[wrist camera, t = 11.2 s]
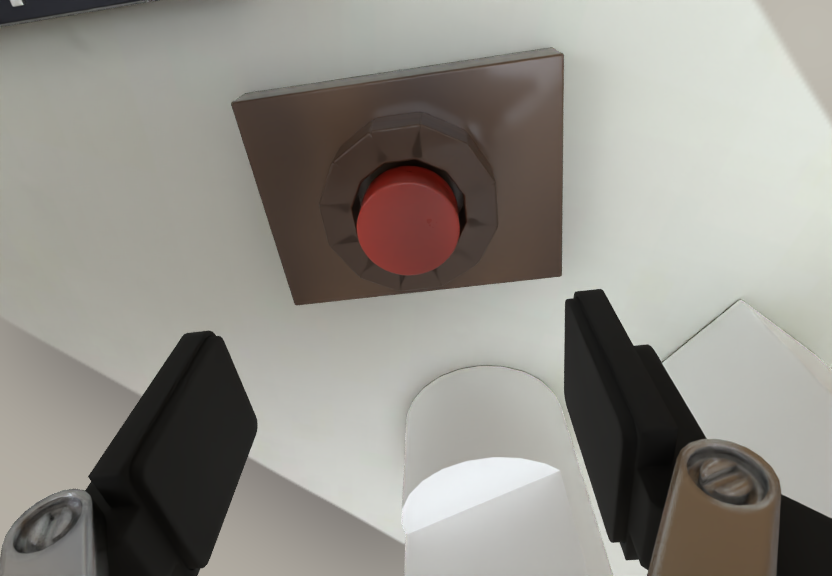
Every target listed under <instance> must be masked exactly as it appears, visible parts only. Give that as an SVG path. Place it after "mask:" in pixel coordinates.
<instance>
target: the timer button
mask: <svg viewBox="0 0 832 576" xmlns="http://www.w3.org/2000/svg"><path fill="white" fill-rule="evenodd" d="M459 234H460V223H459V215H458V207H457V201H456V198H455V195H454V193H453V191H452V189H451V188H450V186H449V185H448V183H447V182H446V181H445V180H444V179H443V178H442V177H440V176H439V175H438V174H436V173H435V172H433V171H431V170H429V169H426V168H423V167H418V166H400V167H395V168H392V169H389V170H387V171H385V172H383V173H382V174H380V175H379V176H378V177H376V178H375V179H374V180H373V181H372V183H371V184H370V185H369V187H368V188H367V190H366V192H365V194H364V197H363V201H362V204H361V208H360V211H359V215H358V218H357V236H358V240H359V243H360V245H361V247H362V249H363V251H364V252H365V254H366V255H367V256H368V257H369V259H370V260H371V261H373V262H374V263H375V264H376V265H378V266H379V267H381V268H382V269H384V270H386V271H389V272H391V273H395V274H400V275H418V274H423V273H427V272H429V271H432V270H434V269H435V268H437V267H439V266H440V265H442V264H443V263H444V262H445V261H446V260H447V259H448V258H449V257H450V256H451V254H452V253H453V251H454V250H455V248H456V245H457V243H458V239H459Z"/></svg>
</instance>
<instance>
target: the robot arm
mask: <svg viewBox="0 0 832 576" xmlns="http://www.w3.org/2000/svg"><path fill="white" fill-rule="evenodd" d="M564 395H565V401H566V406H567V409H568V412H569V415H570V418H571V422H572V425H573V428H574V431H575V434H576V437H577V440H578V444H579V447H580V450H581V453H582V456H583V459H584V462H585V466H586V469H587V472H588V475H589V478H590V481H591V485H592V488H593V491H594V494H595V497H596V500H597V503H598V507H599V510H600V513H601V516H602V519H603V522H604V525H605V529H606V532H607V535H608V537H609V540H610V541H611V542H612V543H614V542H620V544H621V547H622V550H623V553H624V556H625V559H626V560H638V559H639V561H640V564H641V566H643V567H644V568H645V569H647V570H648V574H647V576H832V518H830V517H828V516H826V515H824V514H822V513H820V512H817V511H815V510H813V509H811V508H809V507H807V506H805V505H803V504H801V503H799V502H797V501H795V500H793V499H791V498H789V497H787V496H784V495H782V494H781V487H780V481H779V478H778V476H777V475H776V473H775V471H774V470H773V468H772V467H771V466H770V465H769V464H768V463H767V462H766V461H765V460H764V459H763V458H762V457H761V456H759V455H758V454H756V453H755V452H753V451H751V450H750V449H748V448H747V447H744V446H741V445H739V444H736V443H734V442H731V441H726V440H720V439H707V438H706V436H705V435H704V433H703V431H702V430H701V428H700V426H699V425H698V423H697V421H696V420H695V418H694V416H693V415H692V413H691V411H690V409H689V408H688V406H687V404H686V403H685V401H684V399H683V398H682V396H681V394H680V393H679V391H678V389H677V388H676V386H675V384H674V383H673V381H672V379H671V378H670V376H669V374H668V373H667V371H666V369H665V367H664V366H663V364H662V362H661V361H660V359H659V357H658V356H657V354H656V352H655V351H654V350H653V348H652V347H651V346H649V345H638V346H633V344H632V342H631V340H630V339H629V337H628V335H627V333H626V331H625V329H624V328H623V326H622V324H621V322H620V320H619V319H618V317H617V315H616V313H615V311H614V309H613V308H612V306H611V304H610V302H609V300H608V298H607V297H606V295H605V293H604V291H603V290H602V289H596V290H587V291H578V292H575V293H574V299H566V302H565V357H564ZM256 432H257V418H256V415H255V413H254V411H253V408H252V406H251V404H250V401H249V399H248V396H247V394H246V392H245V389H244V387H243V385H242V382H241V380H240V378H239V375H238V373H237V371H236V368H235V366H234V363H233V361H232V359H231V356H230V354H229V352H228V349H227V347H226V345H225V342H224V340H223V338H222V337H220V336H216V335H215V334H214V333H213V332H212V331H202V332H193V333H186V334H184V335H183V336H182V338H181V339H180V341H179V342H178V344H177V345H176V347H175V348H174V350H173V351H172V353H171V354H170V356H169V357H168V359H167V360H166V362H165V363H164V364H163V366H162V367H161V369H160V370H159V372H158V373H157V375H156V376H155V378H154V379H153V381H152V382H151V384H150V385H149V387H148V388H147V390H146V391H145V393H144V394H143V396H142V397H141V399H140V400H139V402H138V403H137V405H136V406H135V408H134V409H133V411H132V412H131V414H130V415H129V417H128V418H127V420H126V421H125V423H124V424H123V426H122V427H121V428H120V430H119V432H118V433H117V435H116V436H115V437H114V439H113V440H112V442H111V443H110V445H109V446H108V448H107V449H106V451H105V453H104V454H103V455H102V457H101V458H100V460H99V461H98V463H97V464H96V466H95V468H94V469H93V470H92V472H91V473H90V475H89V476H88V477H89V478H90V480H91V483H90V484H89V486H88V488H87V489H86V490H85V491H84V490H80V489H69V490H63V491H60V492H57V493H55V494H52V495H50V496H48V497H46V498H44V499H42V500H41V501H39V502H37V503H36V504H35V505H33V506H32V507H31V508H29V509H28V510H27V511H25V512H24V513H23V514H22V515H21V516H20V517H19V518H18V519H17V520H16V521H15V522H14V524H13V525H12V527H11V528H10V530H9V531H8V533H7V534H6V536H5V539H4V542H3V545H2V550H1V557H0V576H197V575H198V573H199V570H200V568H204V567H205V566H206V565H207V564H208V561H209V559H210V557H211V554H212V551H213V549H214V546H215V543H216V540H217V538H218V535H219V532H220V530H221V527H222V524H223V522H224V519H225V516H226V514H227V511H228V508H229V505H230V503H231V500H232V497H233V495H234V492H235V489H236V487H237V484H238V481H239V479H240V475H241V473H242V470H243V468H244V465H245V462H246V460H247V457H248V454H249V452H250V449H251V446H252V444H253V441H254V438H255V436H256Z"/></svg>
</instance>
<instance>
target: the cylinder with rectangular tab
mask: <svg viewBox="0 0 832 576" xmlns="http://www.w3.org/2000/svg"><path fill="white" fill-rule="evenodd" d="M402 527H403V529H404V532H405V534H406V542H405V569H404V576H613V573H612V570H611V567H610V564H609V560H608V557H607V554H606V551H605V547H604V544H603V541H602V538H601V534H600V531H599V528H598V524H597V521H596V518H595V515H594V511H593V508H592V505H591V502H590V498H589V495H588V492H587V489H586V485H585V482H584V479H583V476H582V472H581V469H580V466H579V463H578V459H577V456H576V453H575V450H574V446H573V443H572V440H571V437H570V433H569V430H568V427H567V424H566V420H565V417H564V414H563V410H562V407H561V405H560V403H559V401H558V399H557V398H556V396H555V394H554V392H553V391H552V390H551V389H550V388H548V387H547V386H546V385H545V384H544V383H543V382H542V381H541V380H539V379H537V378H535V377H533V376H531V375H529V374H527V373H525V372H523V371H519V370H515V369H511V368H507V367H503V366H476V367H470V368H464V369H459V370H456V371H454V372H451V373H449V374H446V375H443V376H441V377H439V378H437V379H436V380H434V381H433V382H432V383H430V384H429V385H427V386H426V387H424V388H423V389H422V390H421V392H420V393H419V394H418V395H417V396H416V398H415V399H414V400H413V401H412V403H411V406H410V408H409V411H408V413H407V416H406V436H405V458H404V479H403V500H402Z"/></svg>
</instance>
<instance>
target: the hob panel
mask: <svg viewBox="0 0 832 576" xmlns="http://www.w3.org/2000/svg"><path fill="white" fill-rule="evenodd" d="M152 1H158V0H0V27H4V26H10V25H16V24H22V23H28V22H33V21H39V20H45V19H51V18H57V17H63V16H69V15H75V14H81V13H87V12H93V11H99V10H104V9H110V8H116V7H122V6H128V5H134V4H140V3H146V2H152Z"/></svg>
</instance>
